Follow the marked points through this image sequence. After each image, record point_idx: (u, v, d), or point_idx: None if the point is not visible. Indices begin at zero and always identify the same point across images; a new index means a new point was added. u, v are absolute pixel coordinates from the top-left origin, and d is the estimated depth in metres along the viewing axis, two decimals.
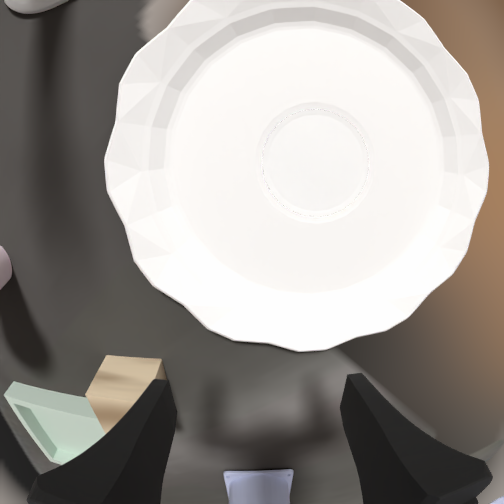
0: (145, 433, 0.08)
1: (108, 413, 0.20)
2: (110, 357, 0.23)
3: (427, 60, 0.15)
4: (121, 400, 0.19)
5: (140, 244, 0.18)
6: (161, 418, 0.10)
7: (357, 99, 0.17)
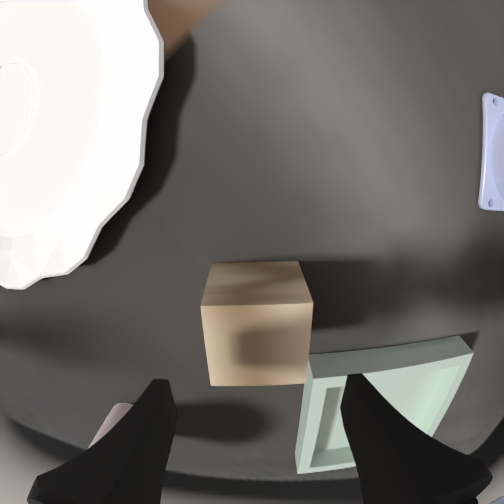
0: (145, 433, 0.08)
1: (246, 367, 0.15)
2: None
3: None
4: (206, 341, 0.14)
5: (52, 265, 0.17)
6: (161, 418, 0.10)
7: None
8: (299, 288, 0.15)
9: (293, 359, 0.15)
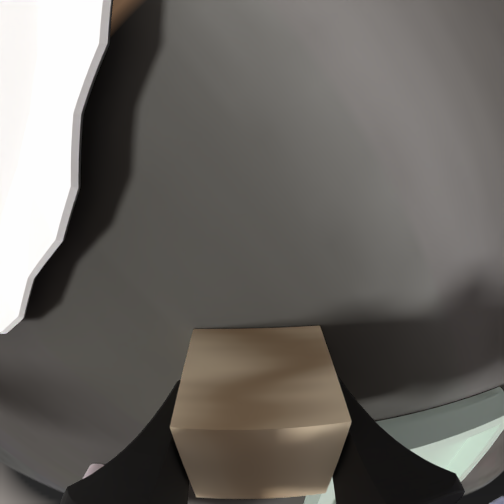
0: None
1: (244, 485, 0.09)
2: None
3: None
4: (184, 461, 0.08)
5: None
6: None
7: None
8: (327, 388, 0.09)
9: (312, 476, 0.09)
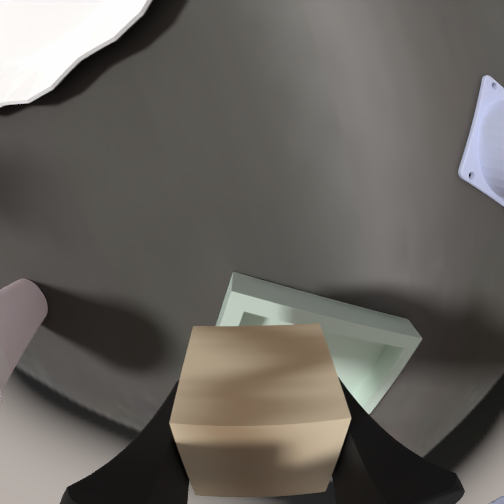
0: None
1: (243, 483, 0.09)
2: None
3: None
4: (183, 458, 0.08)
5: (19, 92, 0.13)
6: None
7: None
8: (326, 384, 0.09)
9: (311, 474, 0.09)
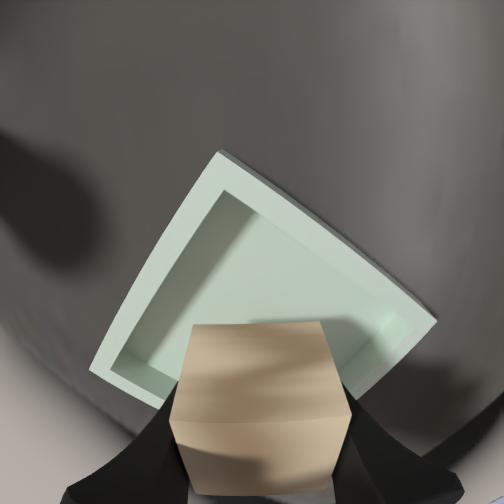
0: None
1: (244, 481, 0.09)
2: None
3: None
4: (183, 456, 0.08)
5: None
6: None
7: None
8: (326, 382, 0.09)
9: (312, 472, 0.09)
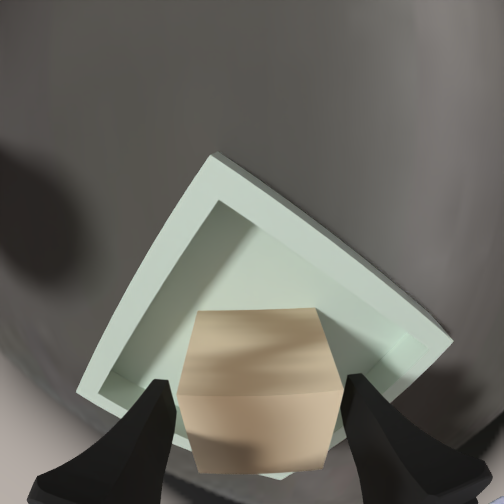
0: (145, 433, 0.08)
1: (244, 458, 0.10)
2: None
3: None
4: (188, 432, 0.09)
5: None
6: (161, 418, 0.10)
7: None
8: (321, 361, 0.10)
9: (308, 449, 0.10)
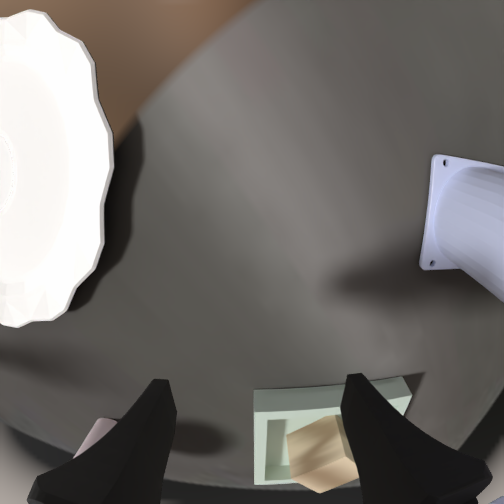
0: (145, 433, 0.08)
1: (331, 482, 0.21)
2: None
3: None
4: (303, 484, 0.21)
5: (40, 312, 0.20)
6: (161, 418, 0.10)
7: None
8: (337, 444, 0.21)
9: (353, 471, 0.21)
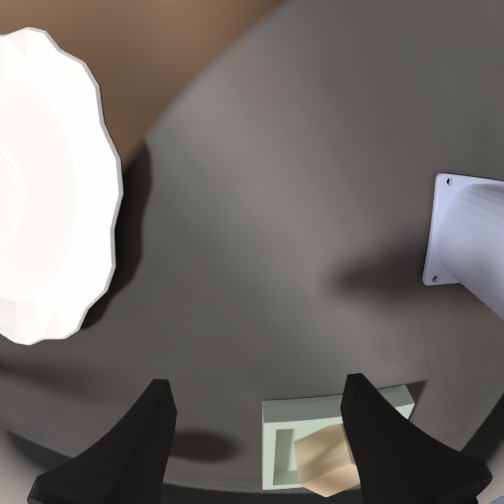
0: (145, 433, 0.08)
1: (337, 487, 0.22)
2: None
3: None
4: (311, 489, 0.22)
5: (52, 331, 0.20)
6: (161, 418, 0.10)
7: None
8: (343, 451, 0.21)
9: (358, 476, 0.21)
